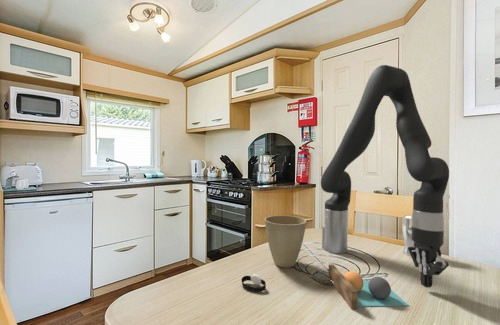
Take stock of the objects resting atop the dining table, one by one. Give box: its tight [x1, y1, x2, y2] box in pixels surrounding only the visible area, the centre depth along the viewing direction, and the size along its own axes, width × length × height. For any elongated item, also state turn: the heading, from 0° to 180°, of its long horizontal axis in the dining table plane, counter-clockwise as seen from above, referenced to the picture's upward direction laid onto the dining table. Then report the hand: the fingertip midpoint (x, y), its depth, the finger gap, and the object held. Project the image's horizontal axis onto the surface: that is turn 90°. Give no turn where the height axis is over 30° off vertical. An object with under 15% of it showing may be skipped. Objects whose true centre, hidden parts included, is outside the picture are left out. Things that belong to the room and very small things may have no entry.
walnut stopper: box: [327, 264, 358, 310], centre depth 70 cm, size 16×2×4 cm, turn 3°
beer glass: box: [401, 215, 414, 257], centre depth 100 cm, size 7×7×15 cm
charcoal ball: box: [368, 276, 392, 299], centre depth 68 cm, size 6×6×6 cm
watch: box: [241, 274, 267, 293], centre depth 72 cm, size 8×5×4 cm, turn 60°
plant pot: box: [264, 214, 307, 268], centre depth 90 cm, size 15×15×16 cm
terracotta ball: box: [343, 270, 364, 292], centre depth 71 cm, size 6×6×6 cm
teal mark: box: [357, 281, 410, 308], centre depth 71 cm, size 14×14×1 cm
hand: (426, 285), depth 72 cm, fingers closed
